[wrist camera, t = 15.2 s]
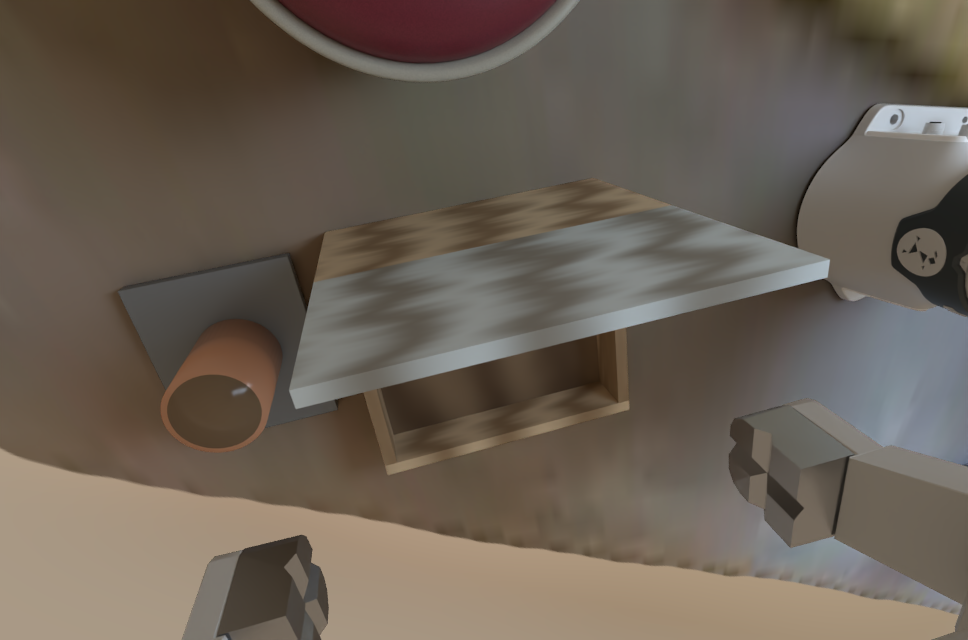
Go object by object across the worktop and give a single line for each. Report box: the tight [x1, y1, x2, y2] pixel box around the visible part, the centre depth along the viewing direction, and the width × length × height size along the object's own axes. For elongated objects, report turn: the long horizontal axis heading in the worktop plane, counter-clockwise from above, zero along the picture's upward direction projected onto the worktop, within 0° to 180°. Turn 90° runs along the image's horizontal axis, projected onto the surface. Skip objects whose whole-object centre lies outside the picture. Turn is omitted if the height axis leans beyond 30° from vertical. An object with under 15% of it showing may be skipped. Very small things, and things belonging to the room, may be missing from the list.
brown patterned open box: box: [289, 178, 830, 475], centre depth 35 cm, size 22×20×24 cm
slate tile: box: [118, 253, 338, 428], centre depth 42 cm, size 12×14×1 cm
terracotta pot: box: [161, 319, 283, 452], centre depth 38 cm, size 6×6×8 cm
